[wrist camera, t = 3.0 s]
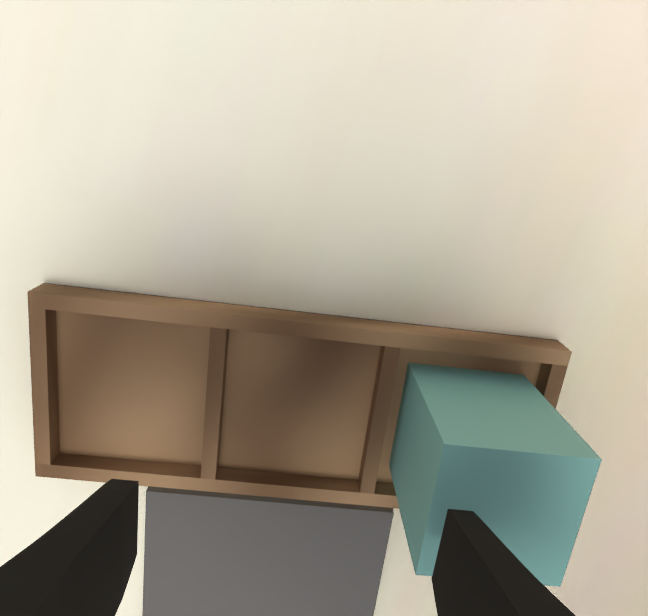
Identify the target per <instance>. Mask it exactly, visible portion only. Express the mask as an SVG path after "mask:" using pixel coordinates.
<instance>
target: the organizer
mask: <svg viewBox="0 0 648 616" xmlns="http://www.w3.org/2000/svg"><path fill="white" fill-rule="evenodd" d="M28 312H29V335H30V358H31V381H32V404H33V427H34V450H35V473H36V476H40V477H51V478H62V479H73V480H85V481H96V482H108V481H109V480H111V479H121V480H132V481H139V485H141V486H152V487H163V488H175V489H186V490H197V491H208V492H220V493H231V494H242V495H253V496H264V497H276V498H287V499H298V500H309V501H321V502H332V503H343V504H354V505H366V506H377V507H388V508H399V505H398V501H397V497H396V492H395V488H394V484H393V480H392V476H391V472H390V468H389V461H390V456H391V451H392V445H393V440H394V435H395V429H396V424H397V419H398V413H399V408H400V403H401V397H402V392H403V387H404V381H405V376H406V371H407V365H408V362H409V363H418V364H428V365H437V366H447V367H456V368H465V369H475V370H484V371H493V372H503V373H512V374H522V375H524V376H525V377H526V378H527V379H528V380H529V381H530V382H531V383H532V384H533V385H534V386H535V387H536V389H537V390H538V391H539V392H540V393H541V394H542V395H543V396H544V397H545V398H546V399H547V401H548V402H549V403H550V404H551V405H552V406H553V407H554V408H556V405H557V401H558V398H559V394H560V391H561V387H562V384H563V380H564V377H565V373H566V370H567V366H568V363H569V359H570V356H571V351H570V350H569V349H568V348H566V347H565V346H564V345H563V344H561V343H560V342H559V341H558V340H549V339H540V338H531V337H522V336H513V335H504V334H495V333H486V332H477V331H468V330H459V329H450V328H441V327H432V326H423V325H414V324H405V323H396V322H387V321H378V320H369V319H360V318H351V317H342V316H333V315H324V314H315V313H306V312H297V311H288V310H279V309H270V308H261V307H252V306H243V305H234V304H225V303H216V302H207V301H198V300H189V299H180V298H171V297H162V296H153V295H144V294H135V293H126V292H117V291H108V290H99V289H90V288H81V287H72V286H63V285H54V284H45V283H43V284H41V285H40V286H38V287H36V288H34V289H32V290H30V291H28Z"/></svg>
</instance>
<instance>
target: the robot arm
mask: <svg viewBox="0 0 648 616" xmlns="http://www.w3.org/2000/svg"><path fill="white" fill-rule="evenodd" d="M138 488H139V481H132V480H121V479H111V480H109V481H108V482H107V483H105V484H104V485H103V486H102V487H100V488H99V489H98V490H97V491H96V492H95V493H93V494H92V495H91V496H90V497H89V498H88V499H86V500H85V501H84V502H83V503H82V504H80V505H79V506H78V507H77V508H76V509H75V510H73V511H72V512H71V513H70V514H69V515H67V516H66V517H65V518H64V519H62V520H61V521H60V522H59V523H57V524H56V525H55V526H54V527H53V528H51V529H50V530H49V531H48V532H46V533H45V534H44V535H43V536H41V537H40V538H39V539H37V540H36V541H35V542H34V543H32V544H31V545H30V546H28V547H27V548H26V549H24V550H23V551H21V552H20V553H19V554H17V555H16V556H15V557H13V558H12V559H11V560H9V561H8V562H6V563H5V564H4V565H2V566H1V567H0V616H115V614H116V612H117V609H118V607H119V605H120V603H121V600H122V598H123V595H124V592H125V589H126V586H127V583H128V580H129V577H130V574H131V571H132V568H133V565H134V562H135V559H136V555H137V529H138ZM432 583H433V589H434V596H435V602H436V607H437V613H438V616H575V615H574V614H573V613H572V612H571V611H570V610H569V609H568V608H567V607H566V606H565V605H564V604H563V603H561V602H560V601H559V600H558V599H557V598H556V597H555V596H554V595H553V594H552V593H551V592H550V591H549V590H548V589H547V588H546V587H545V586H544V585H543V584H542V583H541V582H540V581H539V580H538V579H537V578H536V577H535V576H534V575H533V574H532V573H531V572H530V571H529V570H528V569H527V568H526V567H525V566H524V565H523V564H522V563H521V562H520V561H519V560H518V558H517V557H516V556H515V555H514V554H513V553H512V552H511V551H510V550H509V549H508V548H507V547H506V546H505V544H504V543H503V542H502V541H501V540H500V539H499V538H498V537H497V536H496V535H495V534H494V533H493V531H492V530H491V529H490V528H489V527H488V526H487V525H486V524H485V523H484V522H483V521H482V520H481V519H480V518H479V516H478V515H477V514H476V513H475V512H474V511H467V510H456V509H448V510H447V515H446V519H445V523H444V527H443V532H442V536H441V540H440V545H439V549H438V553H437V558H436V562H435V566H434V571H433V575H432Z"/></svg>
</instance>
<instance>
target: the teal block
mask: <svg viewBox="0 0 648 616" xmlns="http://www.w3.org/2000/svg"><path fill="white" fill-rule="evenodd" d="M601 460H602V459H601V458H600V457H599V456H598V455H597V454H596V453H595V452H594V451H593V449H592V448H591V447H590V446H589V445H588V444H587V443H586V442H585V441H584V440H583V439H582V437H581V436H580V435H579V434H578V433H577V432H576V431H575V430H574V429H573V428H572V427H571V426H570V424H569V423H568V422H567V421H566V420H565V419H564V418H563V417H562V416H561V415H560V414H559V412H558V411H557V410H556V409H555V408H554V407H553V406H552V405H551V404H550V403H549V402H548V401H547V399H546V398H545V397H544V396H543V395H542V394H541V393H540V392H539V391H538V390H537V389H536V387H535V386H534V385H533V384H532V383H531V382H530V381H529V380H528V379H527V378H526V377H525V376H524V375H522V374H512V373H503V372H493V371H484V370H475V369H465V368H456V367H447V366H437V365H428V364H418V363H409V362H408V365H407V371H406V376H405V381H404V387H403V392H402V397H401V403H400V408H399V413H398V419H397V424H396V429H395V435H394V440H393V445H392V451H391V456H390V461H389V468H390V472H391V476H392V480H393V484H394V488H395V492H396V497H397V501H398V505H399V509H400V513H401V517H402V521H403V525H404V529H405V533H406V537H407V541H408V546H409V550H410V554H411V558H412V562H413V566H414V570H415V574H416V575H425V576H432V575H433V571H434V566H435V562H436V558H437V553H438V549H439V545H440V540H441V536H442V532H443V527H444V523H445V519H446V515H447V510H448V509H456V510H467V511H474V512H475V513H476V514H477V515H478V516H479V518H480V519H481V520H482V521H483V522H484V523H485V524H486V525H487V526H488V527H489V528H490V529H491V530H492V531H493V533H494V534H495V535H496V536H497V537H498V538H499V539H500V540H501V541H502V542H503V543H504V544H505V546H506V547H507V548H508V549H509V550H510V551H511V552H512V553H513V554H514V555H515V556H516V557H517V558H518V560H519V561H520V562H521V563H522V564H523V565H524V566H525V567H526V568H527V569H528V570H529V571H530V572H531V573H532V574H533V575H534V576H535V577H536V578H537V579H538V580H539V581H540V582H541V583H542V584H543V585H548V586H561V583H562V580H563V577H564V574H565V571H566V568H567V564H568V561H569V558H570V555H571V552H572V549H573V546H574V543H575V540H576V537H577V534H578V531H579V527H580V524H581V521H582V518H583V515H584V512H585V509H586V506H587V503H588V500H589V497H590V494H591V491H592V487H593V484H594V481H595V478H596V475H597V472H598V469H599V466H600V463H601Z"/></svg>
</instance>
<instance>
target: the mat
mask: <svg viewBox="0 0 648 616" xmlns="http://www.w3.org/2000/svg"><path fill="white" fill-rule="evenodd" d="M392 518H393V509H392V508H388V507H377V506H366V505H354V504H343V503H332V502H321V501H309V500H298V499H287V498H276V497H264V496H253V495H242V494H231V493H220V492H208V491H197V490H186V489H175V488H163V487H152V486H148V489H147V491H146V519H145V552H144V586H143V616H373V614H374V609H375V604H376V599H377V594H378V589H379V584H380V579H381V574H382V569H383V564H384V558H385V553H386V548H387V543H388V538H389V533H390V528H391V523H392Z"/></svg>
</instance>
